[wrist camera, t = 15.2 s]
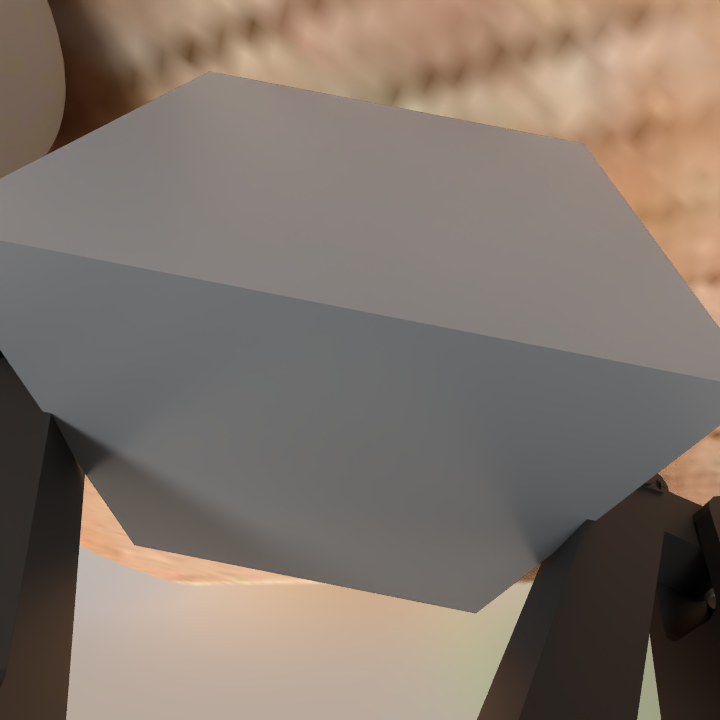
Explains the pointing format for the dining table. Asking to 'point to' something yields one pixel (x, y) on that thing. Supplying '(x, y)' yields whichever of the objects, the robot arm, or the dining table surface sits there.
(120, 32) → the dining table surface
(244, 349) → the matte grey cube
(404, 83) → the dining table surface
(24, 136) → the teacup
